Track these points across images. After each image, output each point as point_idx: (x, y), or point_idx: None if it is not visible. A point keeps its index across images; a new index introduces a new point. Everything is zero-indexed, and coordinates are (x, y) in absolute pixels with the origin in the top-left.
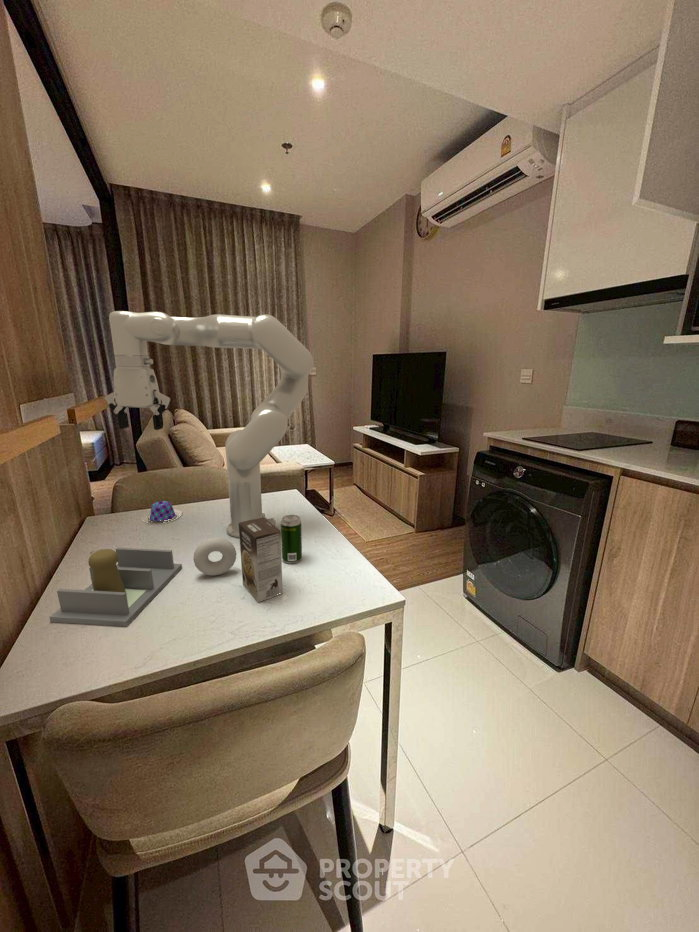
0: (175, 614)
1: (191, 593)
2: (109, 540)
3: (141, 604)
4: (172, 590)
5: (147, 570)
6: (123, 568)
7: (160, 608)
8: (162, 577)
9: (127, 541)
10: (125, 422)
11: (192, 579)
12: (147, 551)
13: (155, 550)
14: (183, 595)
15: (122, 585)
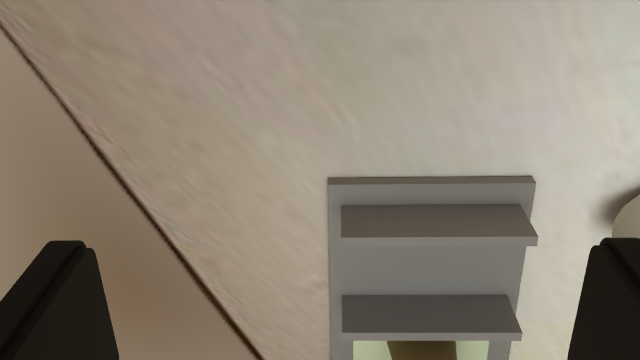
0: None
1: None
2: (148, 19)
3: (507, 348)
4: (546, 274)
5: (514, 338)
6: (440, 335)
7: (545, 332)
8: (507, 252)
9: (226, 19)
10: (76, 348)
11: (585, 226)
12: (454, 245)
13: (481, 243)
14: None
15: (455, 350)
